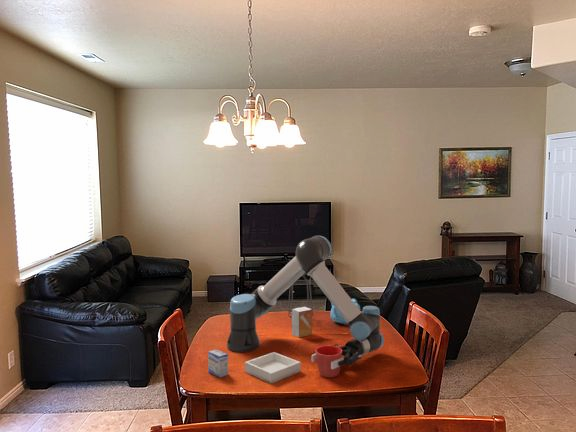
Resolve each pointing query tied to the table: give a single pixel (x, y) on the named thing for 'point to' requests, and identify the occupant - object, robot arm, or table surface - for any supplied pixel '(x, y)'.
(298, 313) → the small box
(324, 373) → the flower pot
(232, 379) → the table surface
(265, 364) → the white square tray
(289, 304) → the geometric lantern
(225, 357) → the medicine box
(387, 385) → the table surface
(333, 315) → the decorative pot
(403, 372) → the table surface
